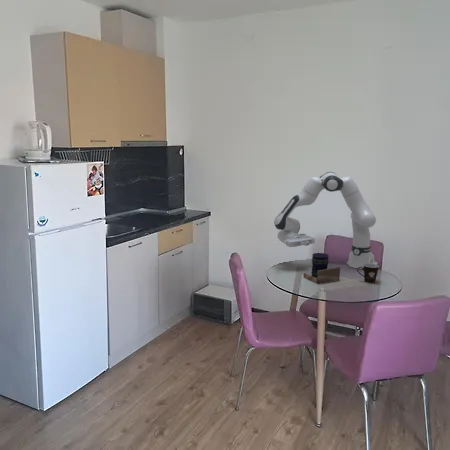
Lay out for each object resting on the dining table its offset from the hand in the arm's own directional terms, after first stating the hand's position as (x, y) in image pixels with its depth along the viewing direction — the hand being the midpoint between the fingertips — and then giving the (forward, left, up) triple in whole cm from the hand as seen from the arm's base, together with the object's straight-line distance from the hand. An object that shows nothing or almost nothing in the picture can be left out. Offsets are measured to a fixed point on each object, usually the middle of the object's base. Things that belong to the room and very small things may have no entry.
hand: (307, 244), depth 286 cm
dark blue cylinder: (+6, +13, -19) cm, 23 cm away
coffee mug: (-11, +37, -19) cm, 43 cm away
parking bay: (+5, +14, -18) cm, 24 cm away
